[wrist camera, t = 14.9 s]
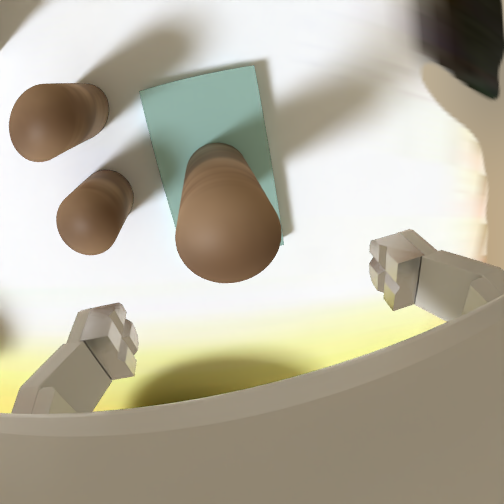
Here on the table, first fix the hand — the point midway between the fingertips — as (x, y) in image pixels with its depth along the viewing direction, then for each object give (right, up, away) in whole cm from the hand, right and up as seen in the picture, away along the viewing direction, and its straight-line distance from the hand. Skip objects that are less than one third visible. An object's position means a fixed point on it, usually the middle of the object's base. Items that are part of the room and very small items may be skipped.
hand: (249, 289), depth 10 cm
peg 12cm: (-3, +8, +16) cm, 17 cm away
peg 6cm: (-13, +6, +16) cm, 21 cm away
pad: (-3, +8, +17) cm, 19 cm away
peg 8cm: (-14, +13, +12) cm, 23 cm away
